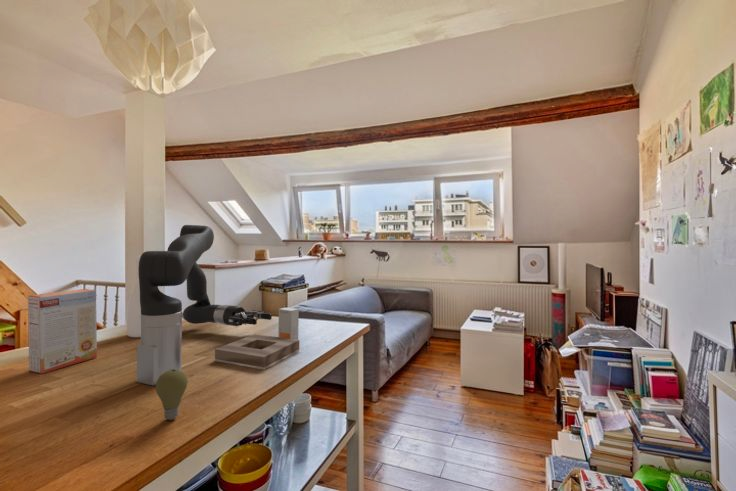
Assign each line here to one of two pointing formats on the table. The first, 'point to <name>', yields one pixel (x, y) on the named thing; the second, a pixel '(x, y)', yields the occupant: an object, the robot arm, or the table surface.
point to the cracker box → (61, 329)
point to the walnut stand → (257, 351)
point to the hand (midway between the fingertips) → (263, 319)
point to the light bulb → (171, 391)
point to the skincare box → (288, 323)
